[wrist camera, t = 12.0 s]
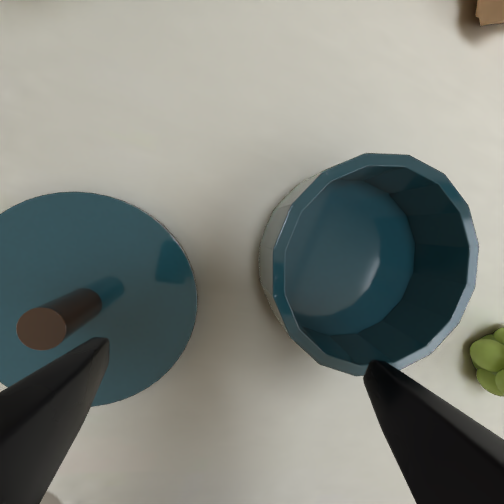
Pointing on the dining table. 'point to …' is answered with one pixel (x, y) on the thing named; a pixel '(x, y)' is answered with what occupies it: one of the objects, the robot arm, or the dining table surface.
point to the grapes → (490, 361)
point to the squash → (490, 11)
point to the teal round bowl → (370, 262)
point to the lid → (92, 289)
